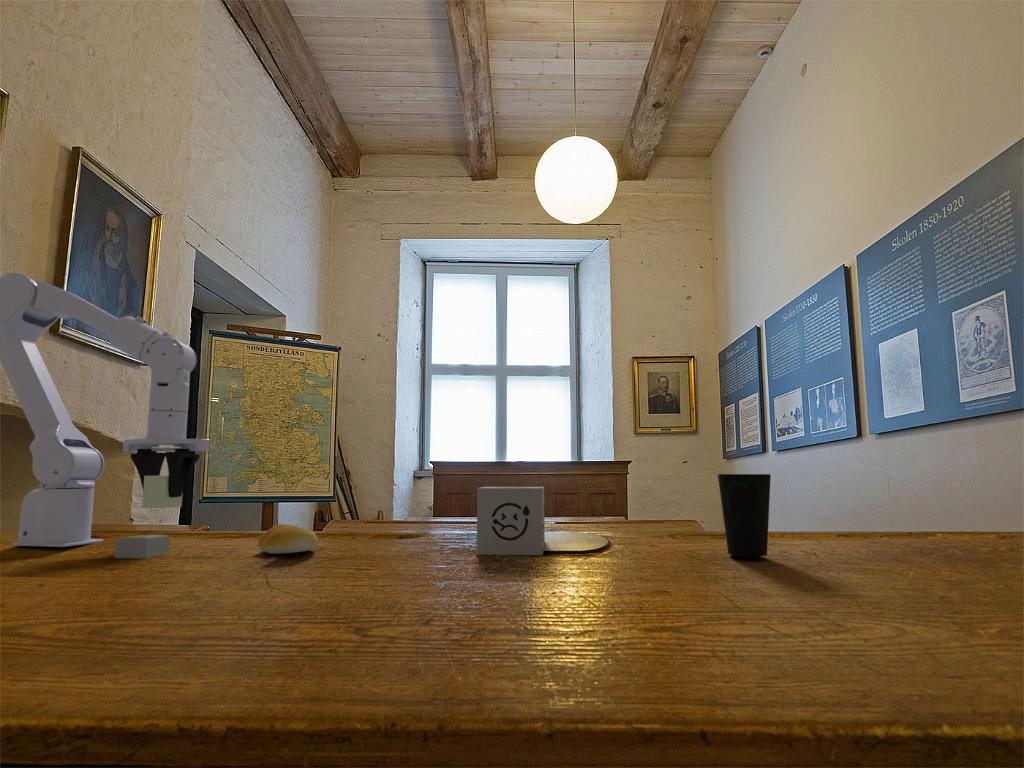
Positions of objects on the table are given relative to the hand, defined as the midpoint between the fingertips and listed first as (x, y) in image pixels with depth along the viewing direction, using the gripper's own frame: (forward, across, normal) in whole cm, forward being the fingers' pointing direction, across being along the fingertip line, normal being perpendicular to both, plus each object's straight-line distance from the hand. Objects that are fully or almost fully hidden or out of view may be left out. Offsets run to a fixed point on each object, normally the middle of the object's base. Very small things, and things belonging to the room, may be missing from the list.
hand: (162, 496), depth 109 cm
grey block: (+9, +3, -7) cm, 11 cm away
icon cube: (+9, +55, +12) cm, 57 cm away
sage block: (+2, 0, 0) cm, 2 cm away
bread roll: (+9, +26, 0) cm, 28 cm away
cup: (+8, +91, +14) cm, 92 cm away
